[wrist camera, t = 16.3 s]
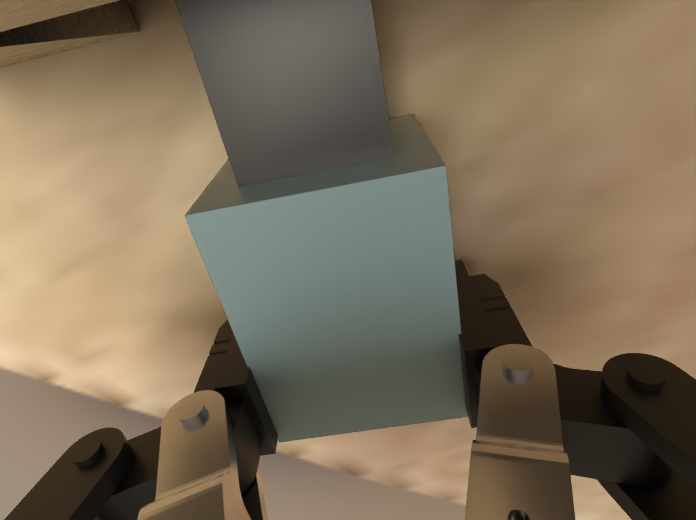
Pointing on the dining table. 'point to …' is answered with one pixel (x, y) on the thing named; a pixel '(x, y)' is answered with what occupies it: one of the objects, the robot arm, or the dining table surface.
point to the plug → (325, 221)
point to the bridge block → (59, 26)
